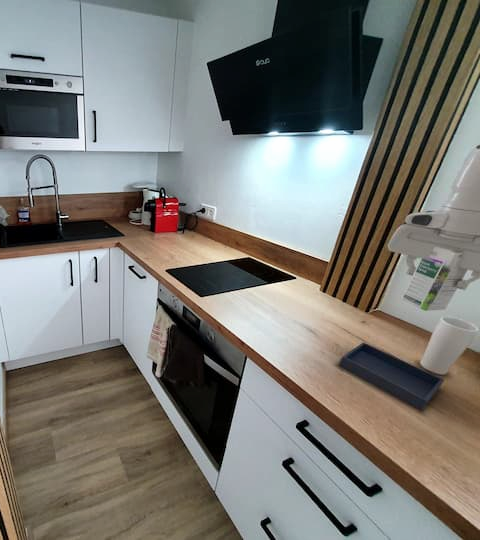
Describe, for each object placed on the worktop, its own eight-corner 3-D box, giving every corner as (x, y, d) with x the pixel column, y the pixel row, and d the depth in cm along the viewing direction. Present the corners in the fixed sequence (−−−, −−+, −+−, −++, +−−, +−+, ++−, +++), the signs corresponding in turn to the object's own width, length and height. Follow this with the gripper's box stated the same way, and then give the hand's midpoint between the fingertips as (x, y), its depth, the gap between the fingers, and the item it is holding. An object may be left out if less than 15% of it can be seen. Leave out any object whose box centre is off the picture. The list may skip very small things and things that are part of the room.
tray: (438, 388, 73) (444, 379, 71) (421, 410, 66) (427, 401, 65) (359, 350, 86) (363, 341, 85) (338, 365, 80) (342, 356, 78)
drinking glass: (416, 356, 84) (440, 313, 78) (449, 369, 79) (477, 323, 74) (415, 368, 79) (440, 322, 73) (450, 381, 75) (480, 334, 69)
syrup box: (399, 299, 71) (426, 243, 65) (420, 298, 71) (448, 243, 65) (424, 311, 65) (455, 251, 60) (446, 310, 66) (479, 251, 60)
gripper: (549, 232, 54) (507, 297, 59) (408, 211, 70) (385, 264, 75) (545, 237, 51) (501, 304, 56) (398, 214, 67) (375, 268, 72)
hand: (434, 281), depth 66 cm, fingers closed on syrup box, 7 cm apart
